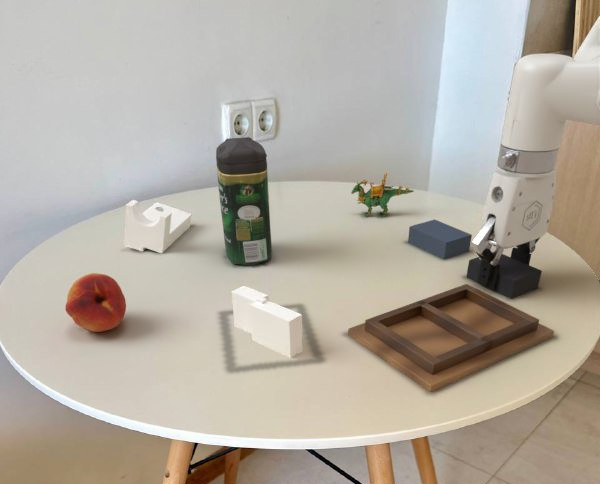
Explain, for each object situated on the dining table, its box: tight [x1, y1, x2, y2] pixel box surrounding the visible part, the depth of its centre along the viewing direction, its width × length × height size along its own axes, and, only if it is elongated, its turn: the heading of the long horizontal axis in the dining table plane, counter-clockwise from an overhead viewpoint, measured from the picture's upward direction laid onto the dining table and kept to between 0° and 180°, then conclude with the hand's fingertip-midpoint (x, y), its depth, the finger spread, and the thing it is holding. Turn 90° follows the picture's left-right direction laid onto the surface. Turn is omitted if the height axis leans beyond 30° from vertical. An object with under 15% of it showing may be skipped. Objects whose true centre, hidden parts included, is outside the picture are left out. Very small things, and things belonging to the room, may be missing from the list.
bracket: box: [123, 199, 193, 254], centre depth 106 cm, size 13×7×8 cm, turn 166°
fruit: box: [65, 272, 127, 333], centre depth 80 cm, size 8×8×8 cm
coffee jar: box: [215, 136, 273, 266], centre depth 96 cm, size 10×8×19 cm
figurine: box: [351, 172, 415, 218], centre depth 114 cm, size 3×12×8 cm, turn 87°
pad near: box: [466, 251, 543, 300], centre depth 91 cm, size 9×6×3 cm, turn 33°
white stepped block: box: [231, 285, 303, 359], centre depth 78 cm, size 15×11×6 cm
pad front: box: [407, 219, 473, 260], centre depth 102 cm, size 9×6×3 cm, turn 33°
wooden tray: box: [347, 283, 555, 393], centre depth 78 cm, size 16×22×2 cm
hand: (501, 279), depth 91 cm, fingers closed on pad near, 6 cm apart
